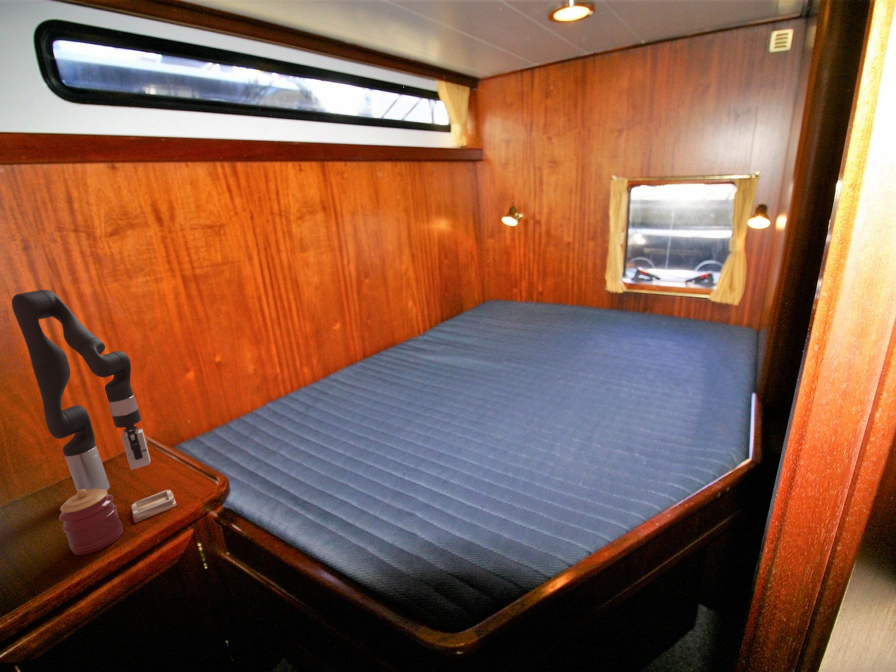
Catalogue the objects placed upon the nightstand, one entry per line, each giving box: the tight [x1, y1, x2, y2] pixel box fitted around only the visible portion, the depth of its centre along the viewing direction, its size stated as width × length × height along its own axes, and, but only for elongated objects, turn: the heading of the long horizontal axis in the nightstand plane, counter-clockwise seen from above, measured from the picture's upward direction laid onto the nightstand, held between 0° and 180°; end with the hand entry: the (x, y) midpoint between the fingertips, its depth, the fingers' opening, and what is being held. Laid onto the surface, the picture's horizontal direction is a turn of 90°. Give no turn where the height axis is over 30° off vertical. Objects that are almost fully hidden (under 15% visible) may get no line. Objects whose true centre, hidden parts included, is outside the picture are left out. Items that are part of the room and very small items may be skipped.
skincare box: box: [121, 428, 151, 471], centre depth 156 cm, size 6×4×12 cm
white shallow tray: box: [131, 489, 178, 524], centre depth 153 cm, size 10×12×2 cm
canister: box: [58, 489, 124, 556], centre depth 136 cm, size 13×13×18 cm
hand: (138, 456), depth 157 cm, fingers closed on skincare box, 4 cm apart
